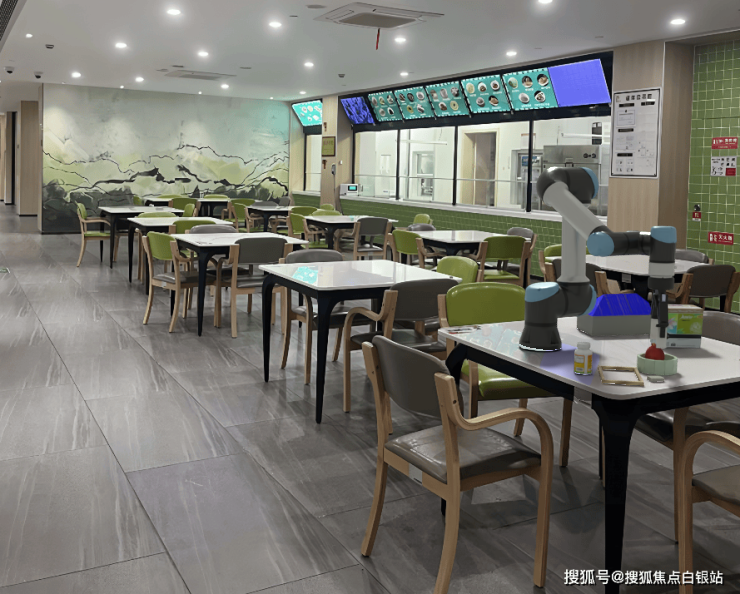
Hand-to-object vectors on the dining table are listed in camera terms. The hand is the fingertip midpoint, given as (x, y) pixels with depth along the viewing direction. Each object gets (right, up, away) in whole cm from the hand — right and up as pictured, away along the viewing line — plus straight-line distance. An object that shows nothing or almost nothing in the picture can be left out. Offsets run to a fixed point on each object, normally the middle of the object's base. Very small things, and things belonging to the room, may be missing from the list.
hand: (657, 343), depth 227 cm
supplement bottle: (-24, -9, -2) cm, 26 cm away
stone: (-5, -11, -11) cm, 16 cm away
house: (+8, 0, +65) cm, 65 cm away
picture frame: (-14, -10, -6) cm, 18 cm away
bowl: (0, -9, +1) cm, 9 cm away
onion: (0, -8, +2) cm, 8 cm away
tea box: (+21, -3, +38) cm, 44 cm away
